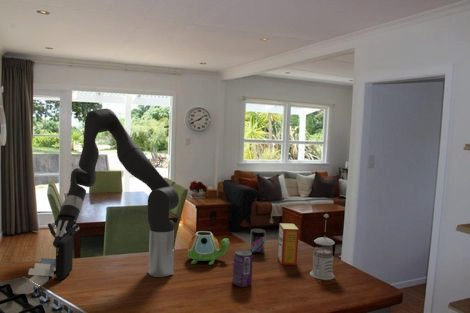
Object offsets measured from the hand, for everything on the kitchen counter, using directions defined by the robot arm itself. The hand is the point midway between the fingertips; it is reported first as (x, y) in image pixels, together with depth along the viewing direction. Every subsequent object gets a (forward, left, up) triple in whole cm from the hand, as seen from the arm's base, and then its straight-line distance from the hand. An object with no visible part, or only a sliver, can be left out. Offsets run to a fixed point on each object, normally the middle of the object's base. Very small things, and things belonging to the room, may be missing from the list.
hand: (56, 246), depth 146 cm
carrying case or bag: (-5, +11, -8) cm, 14 cm away
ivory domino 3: (+2, +12, -7) cm, 14 cm away
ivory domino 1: (+1, +4, -7) cm, 8 cm away
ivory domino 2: (+1, +9, -7) cm, 12 cm away
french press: (-103, +21, -8) cm, 105 cm away
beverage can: (-69, +25, -8) cm, 73 cm away
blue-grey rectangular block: (0, -1, -7) cm, 7 cm away
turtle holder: (-60, -1, -8) cm, 60 cm away
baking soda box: (-95, +4, -8) cm, 95 cm away
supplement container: (-85, -8, -8) cm, 85 cm away
